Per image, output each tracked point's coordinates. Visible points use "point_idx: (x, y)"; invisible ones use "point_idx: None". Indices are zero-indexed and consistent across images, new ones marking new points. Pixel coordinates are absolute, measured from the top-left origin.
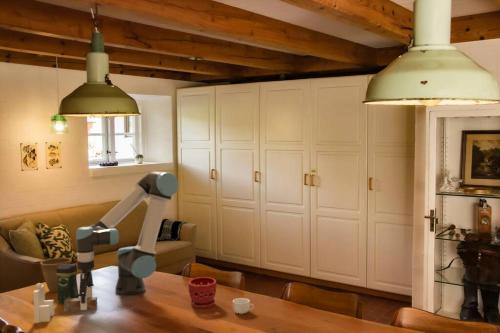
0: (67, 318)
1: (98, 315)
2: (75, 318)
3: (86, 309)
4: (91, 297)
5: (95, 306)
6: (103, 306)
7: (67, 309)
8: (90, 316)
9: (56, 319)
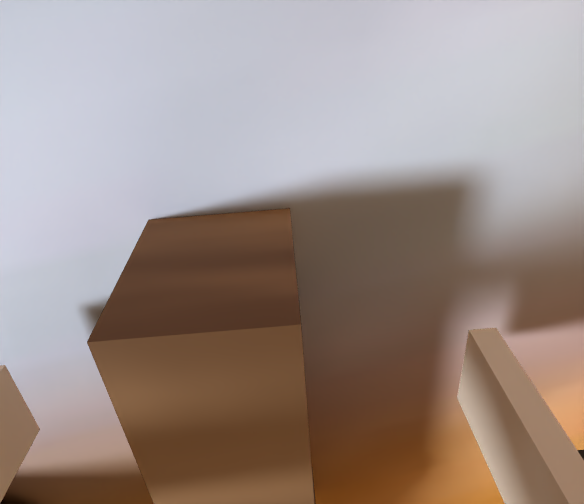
0: None
1: (574, 97)
2: (557, 364)
3: (499, 334)
4: (132, 426)
5: (291, 242)
6: (99, 123)
7: (314, 502)
8: (565, 215)
9: None
